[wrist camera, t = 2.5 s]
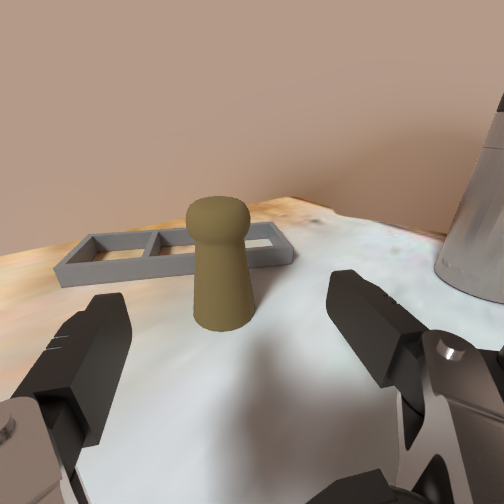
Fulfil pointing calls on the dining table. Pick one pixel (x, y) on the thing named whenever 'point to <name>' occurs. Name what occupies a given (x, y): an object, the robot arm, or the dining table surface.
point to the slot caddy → (157, 255)
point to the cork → (220, 263)
